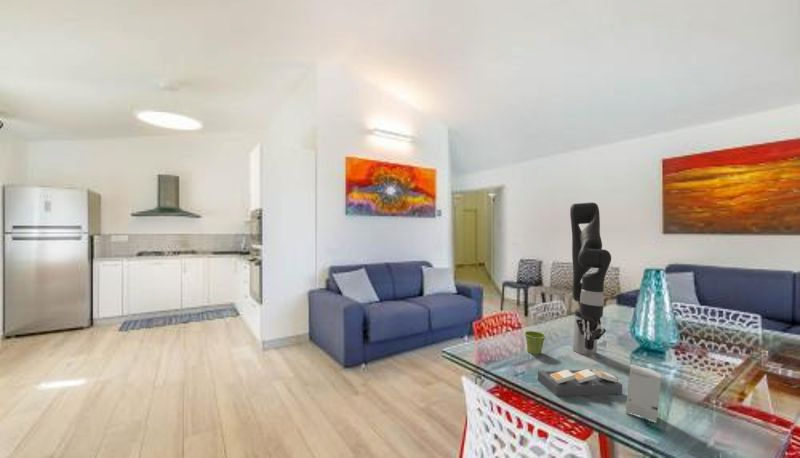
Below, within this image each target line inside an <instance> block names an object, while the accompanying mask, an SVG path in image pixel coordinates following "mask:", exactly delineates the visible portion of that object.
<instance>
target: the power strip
mask: <svg viewBox="0 0 800 458" xmlns="http://www.w3.org/2000/svg"><path fill="white" fill-rule="evenodd" d="M567 370H568V369H567ZM582 370H583V369H574V370H568V371H570V372H571V373H576V372H579V371H582ZM589 370H590V371H591V372H592V370H593V369H589ZM560 371H561V370H538V371H537V381H538V382H539V383H540V384H542V385H543V386H544V387H545V388H546V389H548V390H549V391H550V392H551V393H552V394H553V393H554V394H553V395H555V396H556V397H572V396H577V397H578V396H598V395H599V396H600V395H601V396H602V395H605V396H606V395H619V394H618V393H622V394H623V384H622V383H621V382H619V381H617V382H614V381H610V380H606V379H603V378H600V377H598V376H597V375H596V378H595V379H592V380H589V381H585V382H582V383H578V382H577V381H575V380H574V379H572V380H569V381H566V382H562V383H559V384H557V383H556V382H555V381H553V380H552V379H551V378H550V374H553V373H556V372H560ZM615 377H616V378H618V377H617V376H615ZM618 379H619V378H618ZM616 393H617V394H616Z"/></svg>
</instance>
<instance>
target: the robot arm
mask: <svg viewBox="0 0 800 458" xmlns="http://www.w3.org/2000/svg"><path fill="white" fill-rule="evenodd" d="M569 210H570V211H569V212H570V213H569V214H570V215H569V217H570V226H571V228H570V229H571V242H572V243H571V244H572V245H571V249H572V250H571V257H572V270H573V272H572V273H573V274H572V275H573V276H572V297H573V298H572V299H573V300H574V301H575V302H579V308H577V309H575V311H574V322H573V323H574V324H573V338H572V339H573V343H572V350H573V351H574V353H575V352H576V353H578V354H581V355H586V356H592V355H593V356H594V355H595V354H596V355H597V351H598V350H597V348H598V347H597V346H598V341H599V340H600V339H601V338H602V337H603V336H604V334H605V333H606V331H607V330H606V328H603V327H602V326H601V324H602V321H601V318H602V317H603V316H604V303H605V298H604V291H605V290H604V288H605V285H604V284H605V278H606V275H607V272H608V269H609V268H610V265H611V263H612V255H611V252H609V250H607V249H603V243H602V237H601V232H600V231H601V230H600V229H601V224H600V223H601V221H600V220H601V218H600V217H601V216H600V209H599V206H598V204H597V203H595V202H580V203H579V202H578V203H573V204H571V205H570V209H569ZM580 225H586V226H585V227H584V228H583V229H581V227H580ZM590 269H597V270H596V271H595V272H593V273H587V272H588V271H590Z"/></svg>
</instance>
